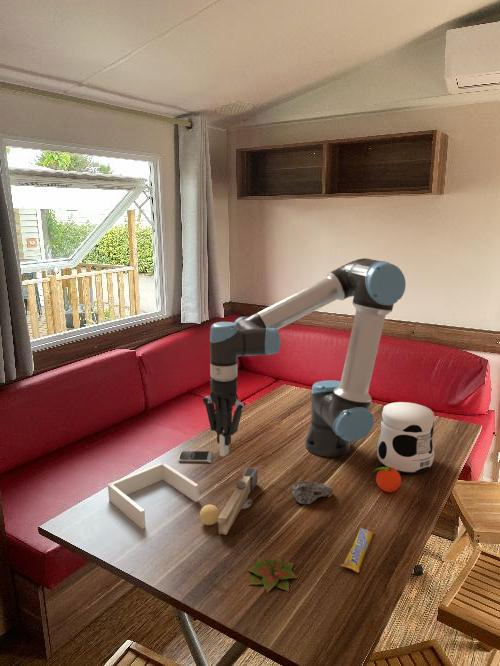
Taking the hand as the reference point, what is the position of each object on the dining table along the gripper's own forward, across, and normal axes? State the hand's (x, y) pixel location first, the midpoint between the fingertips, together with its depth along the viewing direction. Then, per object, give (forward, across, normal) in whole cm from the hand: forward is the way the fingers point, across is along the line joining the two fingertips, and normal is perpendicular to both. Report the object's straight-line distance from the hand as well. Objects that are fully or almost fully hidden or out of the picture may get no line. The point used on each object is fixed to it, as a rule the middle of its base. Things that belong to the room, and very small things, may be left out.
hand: (224, 454), depth 143 cm
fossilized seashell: (+10, +26, +5) cm, 28 cm away
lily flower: (+10, +28, -28) cm, 41 cm away
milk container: (+9, +46, +35) cm, 58 cm away
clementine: (+9, +44, +18) cm, 48 cm away
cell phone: (+10, -16, +9) cm, 21 cm away
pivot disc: (+9, +9, -7) cm, 15 cm away
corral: (+10, -13, -17) cm, 23 cm away
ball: (+10, +6, -18) cm, 22 cm away
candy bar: (+10, +43, -11) cm, 46 cm away
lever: (+9, +10, -9) cm, 16 cm away
